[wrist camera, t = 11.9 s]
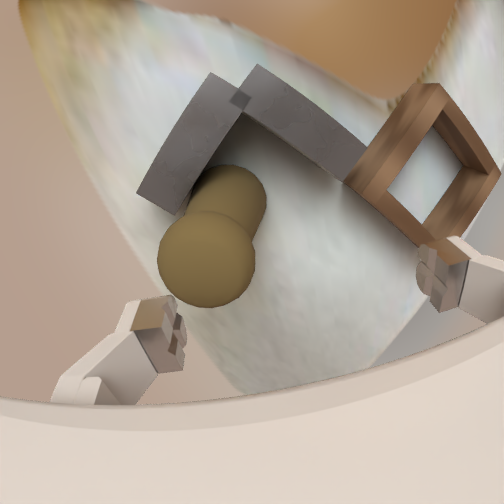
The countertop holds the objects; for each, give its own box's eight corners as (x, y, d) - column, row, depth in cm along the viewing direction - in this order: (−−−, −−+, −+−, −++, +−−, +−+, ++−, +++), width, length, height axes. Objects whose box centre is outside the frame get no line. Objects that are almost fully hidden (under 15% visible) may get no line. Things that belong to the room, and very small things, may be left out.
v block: (134, 102, 20) (112, 100, 16) (329, 64, 20) (354, 56, 16) (159, 201, 24) (145, 222, 20) (344, 164, 24) (370, 177, 19)
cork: (246, 246, 26) (231, 340, 16) (181, 216, 25) (129, 296, 15) (280, 185, 23) (286, 256, 14) (209, 151, 22) (161, 198, 13)
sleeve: (412, 83, 21) (439, 83, 17) (476, 164, 24) (501, 173, 21) (342, 181, 25) (361, 194, 21) (417, 247, 28) (438, 265, 25)
